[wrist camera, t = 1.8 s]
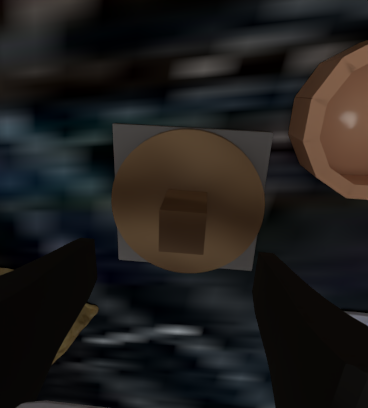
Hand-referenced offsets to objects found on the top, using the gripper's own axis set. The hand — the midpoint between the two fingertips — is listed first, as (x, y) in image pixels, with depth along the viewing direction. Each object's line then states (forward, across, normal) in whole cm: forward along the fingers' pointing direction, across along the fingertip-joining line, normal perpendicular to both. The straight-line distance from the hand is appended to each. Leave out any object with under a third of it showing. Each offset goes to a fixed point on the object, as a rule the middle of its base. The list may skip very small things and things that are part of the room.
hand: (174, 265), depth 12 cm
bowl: (+8, -10, -6) cm, 14 cm away
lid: (+8, 0, 0) cm, 8 cm away
